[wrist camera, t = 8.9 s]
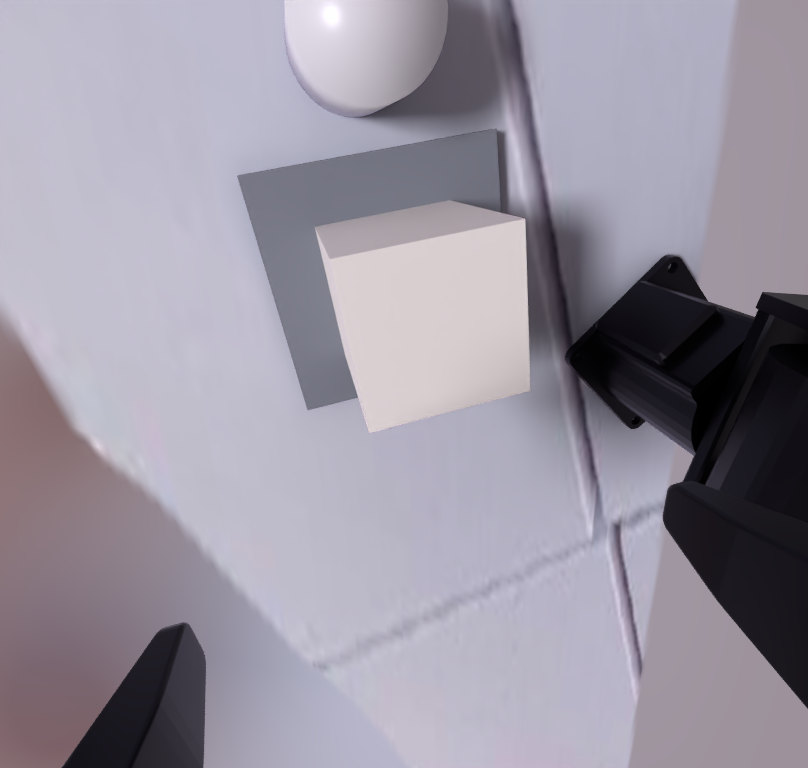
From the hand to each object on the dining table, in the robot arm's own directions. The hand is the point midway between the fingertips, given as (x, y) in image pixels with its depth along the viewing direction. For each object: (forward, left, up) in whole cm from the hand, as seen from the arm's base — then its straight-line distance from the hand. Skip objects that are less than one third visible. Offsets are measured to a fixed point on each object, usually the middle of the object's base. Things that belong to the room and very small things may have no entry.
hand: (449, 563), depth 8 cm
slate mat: (+1, -3, -12) cm, 12 cm away
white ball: (+7, -7, -12) cm, 16 cm away
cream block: (+1, -3, -12) cm, 12 cm away
